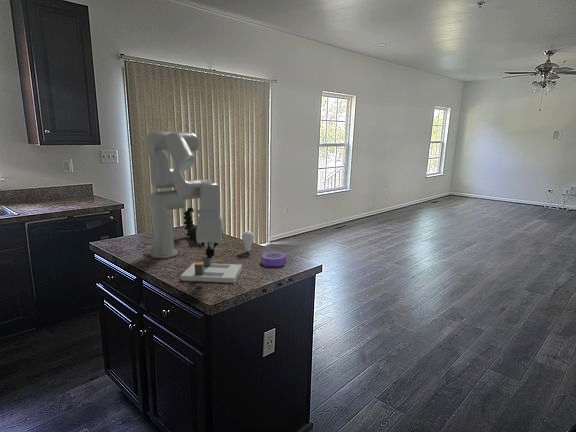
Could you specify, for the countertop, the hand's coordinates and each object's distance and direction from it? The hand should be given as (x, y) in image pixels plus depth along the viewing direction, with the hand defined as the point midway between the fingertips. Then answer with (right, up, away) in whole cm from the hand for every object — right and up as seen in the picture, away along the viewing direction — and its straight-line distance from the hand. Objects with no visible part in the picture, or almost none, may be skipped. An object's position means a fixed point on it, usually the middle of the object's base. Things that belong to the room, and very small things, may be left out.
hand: (210, 257), depth 148 cm
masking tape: (+25, -5, +23) cm, 34 cm away
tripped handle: (-5, -7, +1) cm, 8 cm away
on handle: (-4, -5, +11) cm, 12 cm away
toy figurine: (-19, +3, +59) cm, 62 cm away
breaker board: (0, -8, +6) cm, 10 cm away
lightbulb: (+11, -2, +38) cm, 40 cm away
